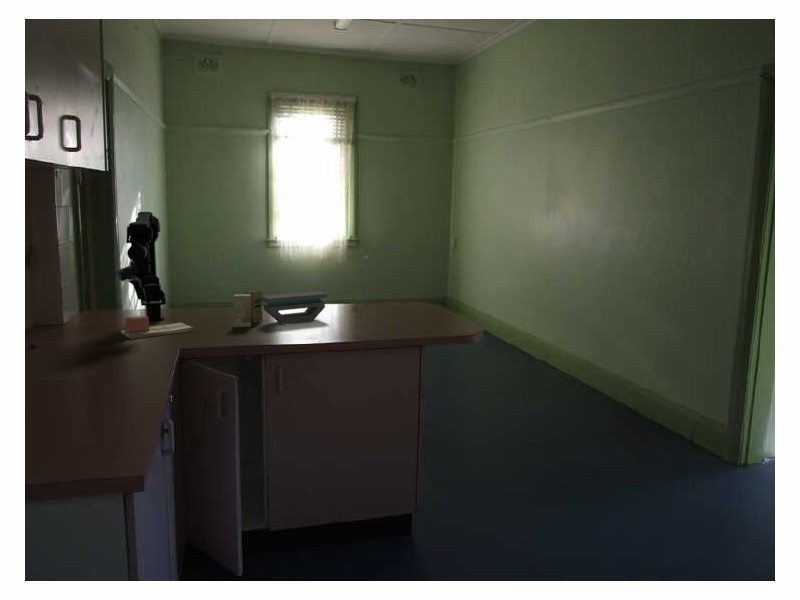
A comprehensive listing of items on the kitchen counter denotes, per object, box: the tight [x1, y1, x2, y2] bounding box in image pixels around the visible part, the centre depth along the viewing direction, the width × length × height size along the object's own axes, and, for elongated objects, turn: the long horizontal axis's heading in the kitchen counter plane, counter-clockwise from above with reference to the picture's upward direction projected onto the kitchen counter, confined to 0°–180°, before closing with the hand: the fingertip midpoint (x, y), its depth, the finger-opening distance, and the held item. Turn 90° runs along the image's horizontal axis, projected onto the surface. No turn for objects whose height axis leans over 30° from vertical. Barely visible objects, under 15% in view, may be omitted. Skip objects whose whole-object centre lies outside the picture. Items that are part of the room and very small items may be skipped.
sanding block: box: [124, 315, 150, 334], centre depth 218 cm, size 4×7×5 cm, turn 131°
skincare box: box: [233, 293, 252, 328], centre depth 234 cm, size 6×4×12 cm
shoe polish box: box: [243, 289, 263, 323], centre depth 244 cm, size 5×5×12 cm
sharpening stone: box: [261, 290, 328, 326], centre depth 243 cm, size 25×8×11 cm, turn 122°
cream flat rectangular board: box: [120, 322, 194, 340], centre depth 223 cm, size 12×22×1 cm, turn 131°
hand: (143, 301), depth 221 cm, fingers open, 9 cm apart
